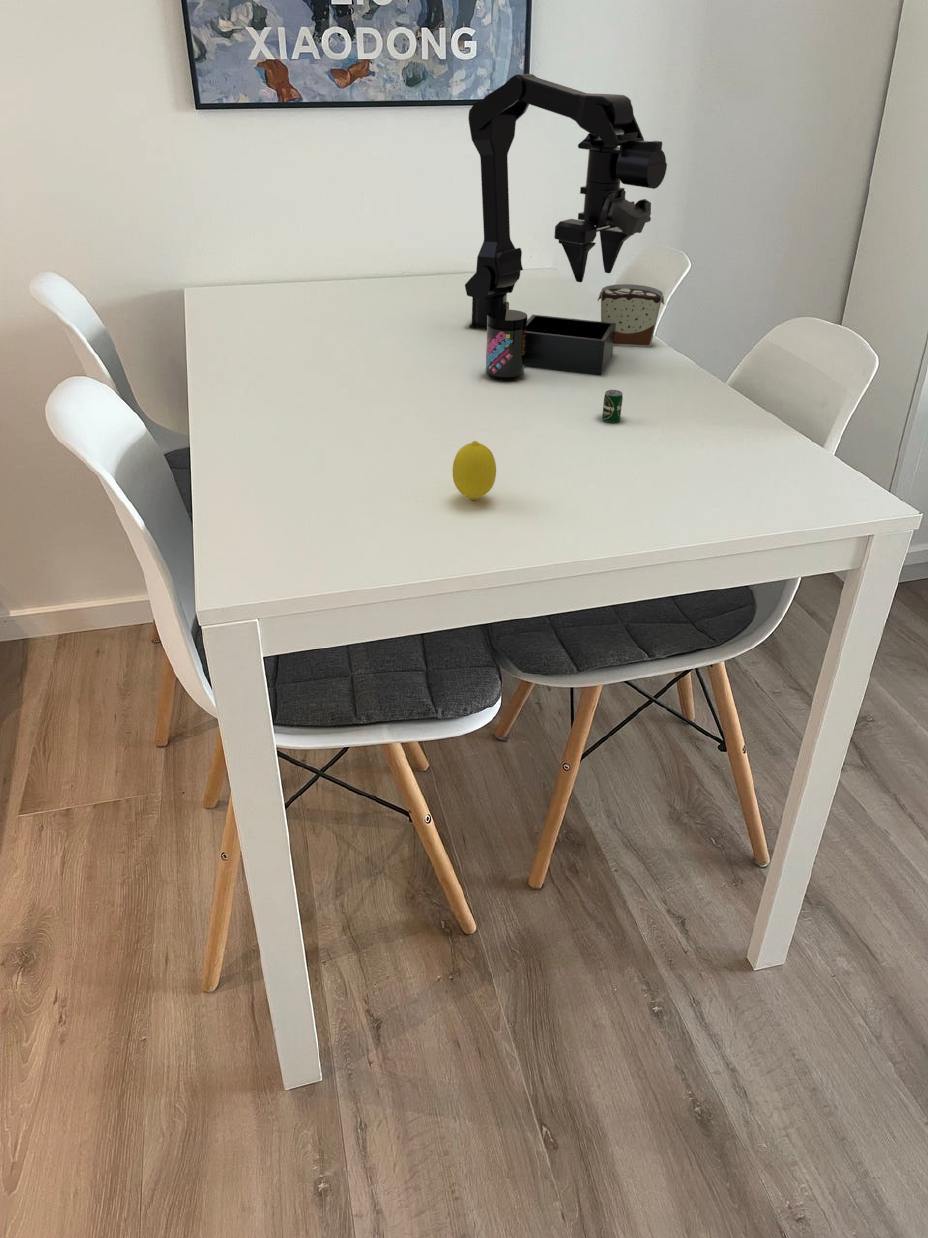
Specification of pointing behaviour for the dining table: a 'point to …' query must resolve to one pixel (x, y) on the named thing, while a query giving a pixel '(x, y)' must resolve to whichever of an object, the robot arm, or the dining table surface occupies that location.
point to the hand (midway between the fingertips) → (593, 277)
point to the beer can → (612, 406)
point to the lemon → (474, 470)
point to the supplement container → (506, 344)
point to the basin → (568, 344)
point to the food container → (631, 312)
